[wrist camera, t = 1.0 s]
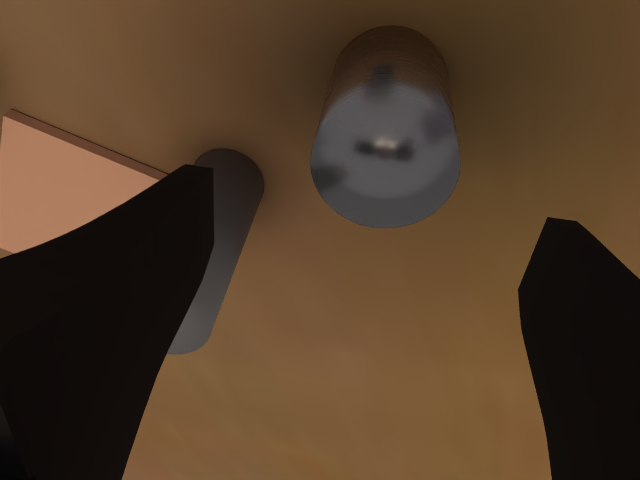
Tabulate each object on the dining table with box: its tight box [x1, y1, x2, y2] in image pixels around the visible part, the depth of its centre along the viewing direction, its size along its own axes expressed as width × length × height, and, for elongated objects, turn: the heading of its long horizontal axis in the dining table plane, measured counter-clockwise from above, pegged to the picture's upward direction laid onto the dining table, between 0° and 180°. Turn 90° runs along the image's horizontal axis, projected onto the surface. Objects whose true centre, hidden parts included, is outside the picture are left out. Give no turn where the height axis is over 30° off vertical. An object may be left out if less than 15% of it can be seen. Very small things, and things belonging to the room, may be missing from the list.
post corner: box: [167, 149, 264, 354], centre depth 20 cm, size 3×3×8 cm
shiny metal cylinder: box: [310, 26, 460, 228], centre depth 18 cm, size 4×4×6 cm
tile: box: [0, 109, 168, 253], centre depth 25 cm, size 7×7×1 cm
